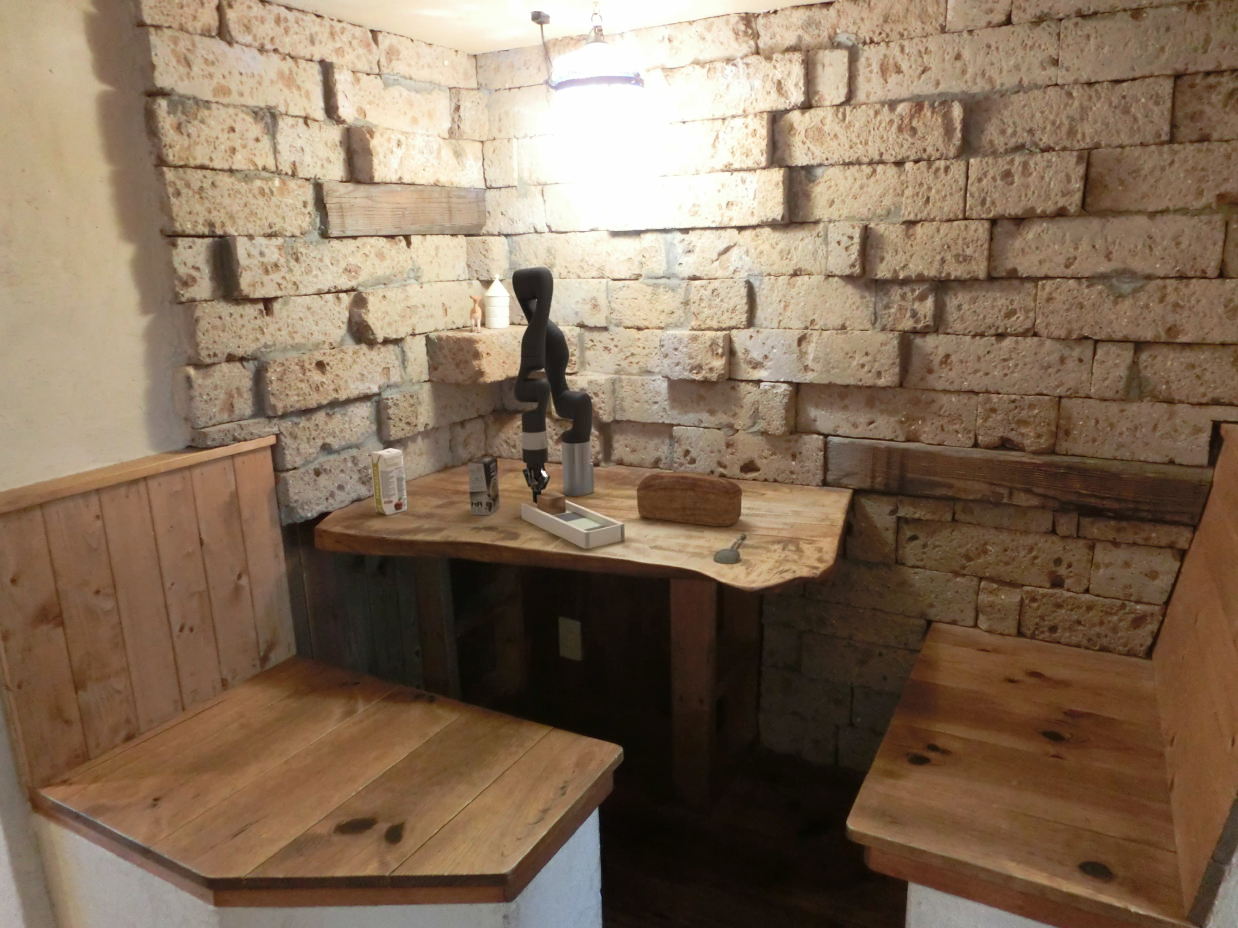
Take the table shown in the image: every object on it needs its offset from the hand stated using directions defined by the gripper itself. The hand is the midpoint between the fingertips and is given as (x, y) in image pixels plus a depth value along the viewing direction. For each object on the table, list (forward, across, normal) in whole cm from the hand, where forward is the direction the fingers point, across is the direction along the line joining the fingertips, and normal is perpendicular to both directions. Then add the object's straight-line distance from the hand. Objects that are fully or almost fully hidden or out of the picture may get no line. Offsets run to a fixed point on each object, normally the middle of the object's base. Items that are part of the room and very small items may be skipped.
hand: (537, 502), depth 254 cm
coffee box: (+4, +13, +11) cm, 17 cm away
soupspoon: (+4, -60, -24) cm, 65 cm away
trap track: (+4, -18, 0) cm, 19 cm away
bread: (+4, -32, -32) cm, 46 cm away
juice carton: (+4, +31, +34) cm, 46 cm away
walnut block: (+1, -8, 0) cm, 8 cm away
